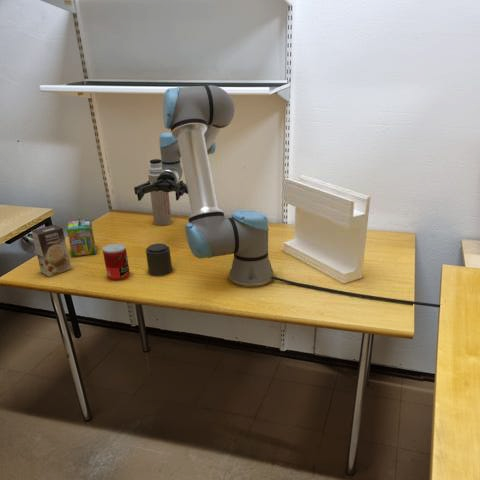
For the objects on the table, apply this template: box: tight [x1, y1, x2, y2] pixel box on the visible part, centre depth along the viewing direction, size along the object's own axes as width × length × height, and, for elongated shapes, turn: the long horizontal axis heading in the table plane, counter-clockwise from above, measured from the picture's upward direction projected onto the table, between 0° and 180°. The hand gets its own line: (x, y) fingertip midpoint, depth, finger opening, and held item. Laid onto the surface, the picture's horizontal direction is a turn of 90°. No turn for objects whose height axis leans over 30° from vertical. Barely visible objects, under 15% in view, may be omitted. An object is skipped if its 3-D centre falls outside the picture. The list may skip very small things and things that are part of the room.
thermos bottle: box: [147, 158, 172, 227], centre depth 213 cm, size 8×8×28 cm
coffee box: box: [30, 224, 72, 278], centre depth 172 cm, size 9×6×16 cm
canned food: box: [102, 242, 131, 281], centre depth 168 cm, size 8×8×11 cm
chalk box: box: [66, 214, 97, 258], centre depth 188 cm, size 9×9×15 cm
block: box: [282, 174, 371, 284], centre depth 168 cm, size 35×8×28 cm, turn 31°
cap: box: [145, 242, 173, 277], centre depth 171 cm, size 9×9×9 cm
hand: (157, 196), depth 169 cm, fingers open, 13 cm apart
